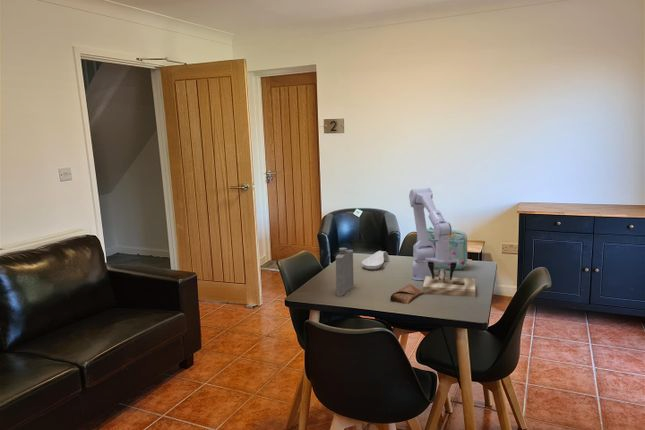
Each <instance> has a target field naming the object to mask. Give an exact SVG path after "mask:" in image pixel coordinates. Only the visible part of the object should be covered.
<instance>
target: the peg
mask: <svg viewBox="0 0 645 430" xmlns="http://www.w3.org/2000/svg"><path fill="white" fill-rule="evenodd" d="M438 277H439V281H441V283H443V281H445V277H446V269H443V268H440V269H438Z"/></svg>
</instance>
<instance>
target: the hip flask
mask: <svg viewBox="0 0 645 430" xmlns="http://www.w3.org/2000/svg"><path fill="white" fill-rule="evenodd" d="M338 252H339V253H338V254H337V255H336V256H335V281H336V283H335V285H336V288H335V289H336V297H344V296H345V294H346V293H347V292H349V290H351V289H354V286H355V285H354V282H355V281H354V250H353V249H348V248H347V247H339V248H338ZM343 295H344V296H343Z"/></svg>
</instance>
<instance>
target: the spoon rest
mask: <svg viewBox="0 0 645 430" xmlns="http://www.w3.org/2000/svg"><path fill="white" fill-rule="evenodd" d="M384 262H390V255H389V254H388V252H387V251H386V250H385V251H382V250H378V251H376V252H375V253H373V254H371V255H370V256H368V257H366V258H365V259H363V260H362V261H361V265H362V267H363V268H365V269H367V270H372V271H375V270H379V269H380V268H381V267H382V266H383V265H384Z"/></svg>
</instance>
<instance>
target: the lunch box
mask: <svg viewBox="0 0 645 430" xmlns="http://www.w3.org/2000/svg"><path fill="white" fill-rule="evenodd" d="M433 229H434V227H433V226H430V227H429V228H427V234H428V240H429V241H430V242H432V243H433V244H434V248H435V250H436V239H435V238H434V232H433ZM417 242H418V238H417V237H416V243H417ZM419 248H424V247H419ZM435 258H436V257H435ZM449 258H452V259H459V264H456V268H455V270H462V269H463V268H464V267H465V266H466V265H467V262H468V236H467V234H466V232H464V231H462V230H456V229H452V232H451V234H450V235H449ZM450 265H451V264H448V263H434V270H439V269H440V268H443V269H445V270H450Z"/></svg>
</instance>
